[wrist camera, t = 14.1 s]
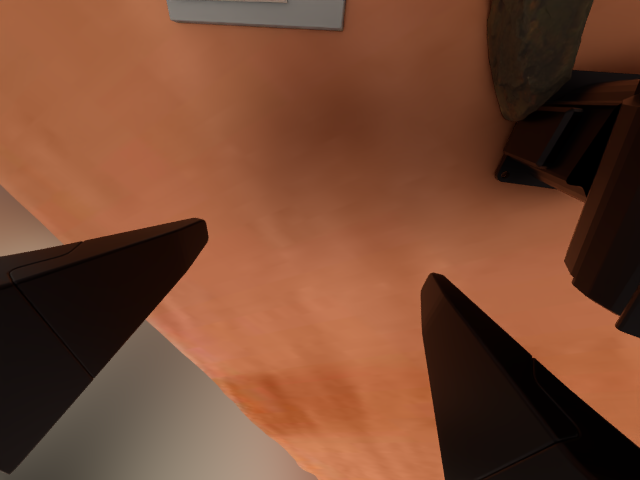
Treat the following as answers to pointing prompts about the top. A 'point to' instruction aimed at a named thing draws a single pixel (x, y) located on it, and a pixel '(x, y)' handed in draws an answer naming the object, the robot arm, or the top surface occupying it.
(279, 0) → the tile
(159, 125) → the top surface
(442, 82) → the top surface
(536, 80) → the hand tool
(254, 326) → the top surface
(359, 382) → the top surface
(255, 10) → the mat
